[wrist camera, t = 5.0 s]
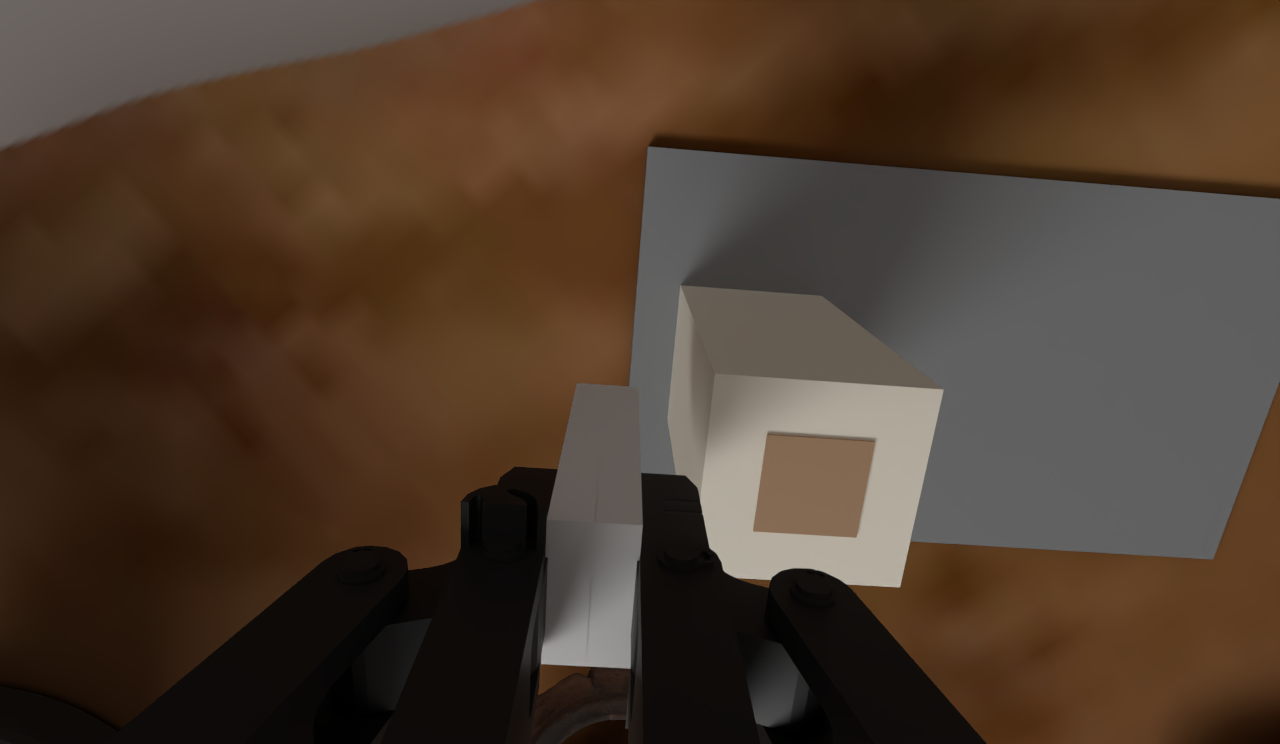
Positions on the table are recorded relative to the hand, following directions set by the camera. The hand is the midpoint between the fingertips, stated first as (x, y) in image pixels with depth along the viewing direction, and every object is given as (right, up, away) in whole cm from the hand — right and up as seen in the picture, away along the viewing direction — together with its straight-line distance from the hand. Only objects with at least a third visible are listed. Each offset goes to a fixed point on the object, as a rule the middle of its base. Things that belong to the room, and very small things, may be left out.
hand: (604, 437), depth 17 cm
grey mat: (+13, +2, +9) cm, 15 cm away
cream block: (+5, +2, +8) cm, 9 cm away
